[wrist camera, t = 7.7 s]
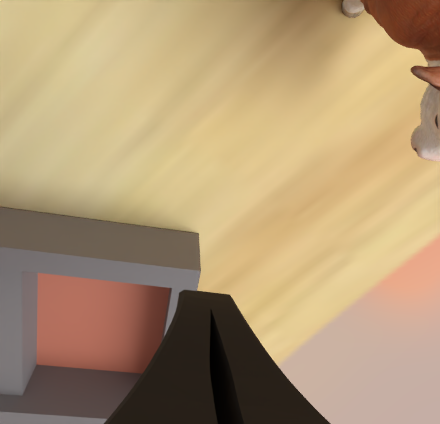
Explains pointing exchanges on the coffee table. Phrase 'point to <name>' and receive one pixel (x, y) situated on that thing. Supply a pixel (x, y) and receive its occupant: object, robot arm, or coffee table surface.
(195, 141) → the coffee table surface
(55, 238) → the trap runway
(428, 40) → the bull figurine
